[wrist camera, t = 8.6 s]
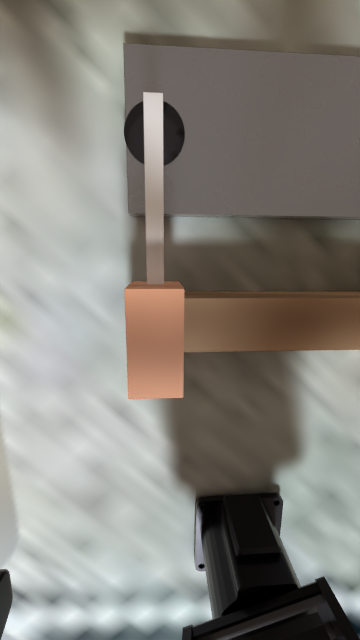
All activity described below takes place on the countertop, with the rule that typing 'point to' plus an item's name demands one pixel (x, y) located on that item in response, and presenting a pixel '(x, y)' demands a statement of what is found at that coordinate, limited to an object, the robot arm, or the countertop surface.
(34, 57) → the countertop surface
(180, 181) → the flange plate
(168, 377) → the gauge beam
